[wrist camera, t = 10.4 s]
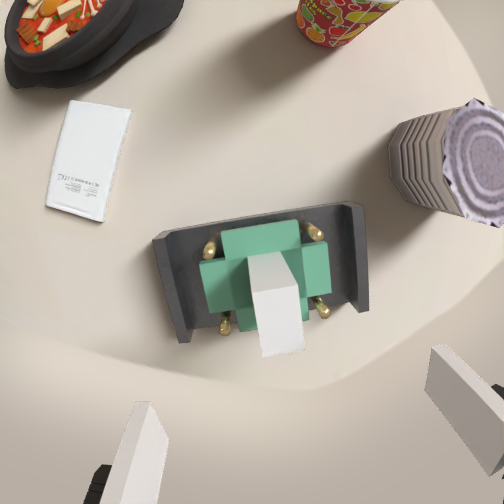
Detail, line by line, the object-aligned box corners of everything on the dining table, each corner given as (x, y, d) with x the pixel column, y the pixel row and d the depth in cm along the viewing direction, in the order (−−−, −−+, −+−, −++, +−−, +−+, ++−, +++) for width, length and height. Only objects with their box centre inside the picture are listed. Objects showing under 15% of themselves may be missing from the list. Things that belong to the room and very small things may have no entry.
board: (215, 330, 32) (208, 391, 22) (195, 235, 29) (174, 267, 19) (330, 310, 32) (364, 363, 22) (320, 215, 29) (360, 236, 19)
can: (420, 228, 34) (484, 252, 22) (367, 151, 31) (427, 144, 20) (471, 172, 32) (538, 178, 21) (426, 98, 30) (491, 79, 18)
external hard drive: (135, 112, 30) (106, 220, 32) (75, 102, 29) (50, 203, 32) (130, 109, 28) (100, 222, 31) (69, 99, 27) (43, 205, 30)
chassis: (185, 324, 35) (175, 353, 29) (163, 231, 32) (146, 244, 26) (354, 295, 35) (376, 318, 29) (347, 201, 33) (371, 207, 26)
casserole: (180, -54, 24) (170, -92, 15) (197, 54, 28) (186, 21, 20) (16, 13, 24) (-15, -5, 15) (13, 122, 28) (-30, 117, 20)
